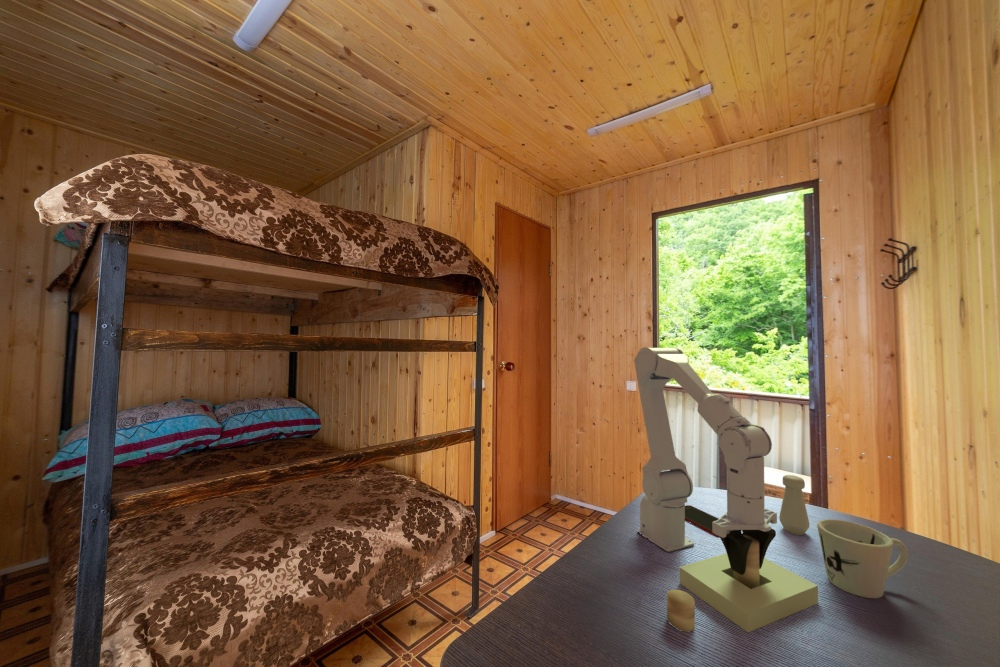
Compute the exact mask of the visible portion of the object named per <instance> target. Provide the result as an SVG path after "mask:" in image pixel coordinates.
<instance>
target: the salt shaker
mask: <svg viewBox="0 0 1000 667" xmlns="http://www.w3.org/2000/svg"><path fill="white" fill-rule="evenodd" d="M782 485H783V486H785V488H784V493H783V497H782V502H781V507H780V512H779V518H778V519H779V522H780V524H781V526H782V527H783V530H784V531H785V532H787V533H789V534H792V535H794V536H795V535H796V536H804V535H805V534H806V532H807V531H808V530H809V528H810V520H809V515H808V511H807V506H806V502H805V497H804V492H803V489H805V487H806V486H805V485H806V483H805V480H804V479H803V478H802V477H800V476H797V475H795V474H794V475H793V474H785V475H784V476H783V477H782Z"/></svg>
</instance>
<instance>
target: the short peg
mask: <svg viewBox="0 0 1000 667" xmlns="http://www.w3.org/2000/svg"><path fill="white" fill-rule="evenodd" d="M695 601H696V600H695V599H694V597H693V596H692V595H691V594H690V593H688V592H686V591H684V590H680V589H670V590H668V591H667V593H666V610H667V611H666V620H667V619H668V621H669V622H670V623H671V624H672V625H673V626H675V627H676V628H678V629H679V630H682V631H686V632H685V633H689V632H688V631H692V632H693V631H694V630H695V629H694V628H695V626H696V625H695V624H696V622H695V621H696V619H695V617H696V616H695V612H696V611H695V610H696V609H695V606H696V604H695ZM668 621H667V622H668Z"/></svg>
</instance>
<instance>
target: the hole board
mask: <svg viewBox="0 0 1000 667" xmlns="http://www.w3.org/2000/svg"><path fill="white" fill-rule="evenodd" d="M759 578H760V586H758V587H755V588H753V589H750V588H748V587H747V586H745V585H743V584H742V583H740V582H739V581H737V580H735V579H734V578H733V570H732V569H731V566H730V562H729V559H728V555H727V552H725V553H722V554H719V555H715V556H712V557H710V558H706V559H702V560H699V561H695V562H693V563H688V564H686V565H681V566H679V584H680V583H681V584H682V585H681V584H680V585H681V586H683V587H684V586H685V587H686V588H685V589H687V590H688V591H690V592H691V593H693V594H694V595H695V596H697V597H698V598H699V599H700V600H702V601H703V602H705V603H707V604H708V605H709V606H710V607H711V608H713V609H715V611H718V613H720V614H722V615H723V616H724V617H725V618H727V619H729V620H730V621H731V622H733V624H736V625H737V626H738V627H739V628H740V629H742V630H743V631H745V632H746V633H748V634H749V633H751V632H754V631H755V630H758V629H760V628H762V627H765V626H768V625H770V624H772V623H774V622H777V621H779V620H782V619H785V618H786V617H788V616H791V615H793V614H796V613H798V612H800V611H803V610H806V609H807V608H810V607H812V606H815V605H818V604H819V585H818V584H815V583H813V582H812V581H810V580H807V579H806V578H804V577H802V576H801V575H799V574H797V573H795V572H792V571H790V570H788V569H787V568H784V567H783V566H780V564H777V563H775V562H772V560H769V559H768V558H765V557H764V561H763V564H762V567H761V569H759Z"/></svg>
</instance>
